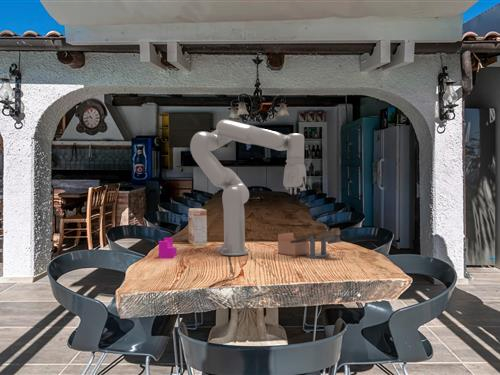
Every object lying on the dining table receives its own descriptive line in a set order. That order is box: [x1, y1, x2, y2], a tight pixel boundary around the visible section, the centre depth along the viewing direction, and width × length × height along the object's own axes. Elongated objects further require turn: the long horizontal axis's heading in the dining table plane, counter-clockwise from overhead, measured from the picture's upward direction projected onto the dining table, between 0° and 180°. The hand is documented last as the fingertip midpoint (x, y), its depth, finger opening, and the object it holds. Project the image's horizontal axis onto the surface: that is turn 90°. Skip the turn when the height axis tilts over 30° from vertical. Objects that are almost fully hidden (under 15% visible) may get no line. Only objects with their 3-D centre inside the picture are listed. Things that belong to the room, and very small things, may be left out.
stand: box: [305, 236, 331, 260], centre depth 206 cm, size 10×5×10 cm, turn 134°
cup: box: [277, 232, 310, 257], centre depth 217 cm, size 10×10×9 cm
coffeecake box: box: [187, 207, 208, 247], centre depth 244 cm, size 15×7×20 cm, turn 17°
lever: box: [290, 227, 342, 244], centre depth 204 cm, size 13×20×6 cm, turn 44°
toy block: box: [158, 237, 178, 259], centre depth 214 cm, size 15×6×8 cm, turn 0°
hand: (295, 203), depth 208 cm, fingers closed
